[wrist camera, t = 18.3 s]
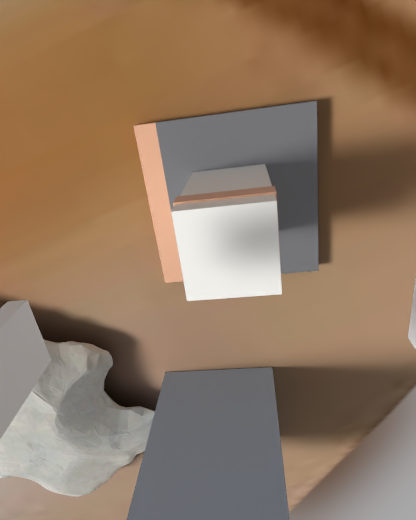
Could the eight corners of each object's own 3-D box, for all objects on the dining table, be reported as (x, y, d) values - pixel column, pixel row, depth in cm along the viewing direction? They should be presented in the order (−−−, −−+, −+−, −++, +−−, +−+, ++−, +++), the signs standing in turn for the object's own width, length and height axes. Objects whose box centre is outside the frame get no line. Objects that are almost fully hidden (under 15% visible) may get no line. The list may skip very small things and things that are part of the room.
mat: (137, 124, 26) (133, 125, 25) (314, 100, 24) (317, 101, 24) (167, 276, 31) (165, 282, 30) (316, 264, 29) (318, 270, 28)
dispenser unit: (165, 372, 35) (109, 584, 20) (272, 367, 34) (297, 589, 19) (181, 444, 39) (145, 666, 24) (277, 441, 38) (302, 674, 23)
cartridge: (191, 171, 26) (168, 209, 18) (266, 162, 25) (278, 198, 17) (201, 239, 28) (185, 302, 20) (270, 233, 27) (283, 295, 19)
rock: (68, 535, 39) (-197, 431, 30) (85, 468, 45) (-130, 365, 36) (197, 448, 33) (-87, 283, 24) (196, 385, 39) (-29, 234, 30)
